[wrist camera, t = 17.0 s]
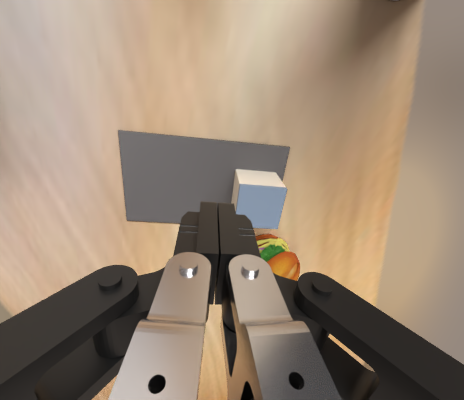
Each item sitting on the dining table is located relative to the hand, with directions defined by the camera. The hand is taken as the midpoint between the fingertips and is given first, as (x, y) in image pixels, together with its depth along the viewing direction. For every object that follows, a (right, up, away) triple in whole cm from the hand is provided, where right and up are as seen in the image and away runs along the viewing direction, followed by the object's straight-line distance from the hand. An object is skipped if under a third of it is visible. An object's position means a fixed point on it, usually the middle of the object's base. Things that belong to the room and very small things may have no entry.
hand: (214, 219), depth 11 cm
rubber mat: (-4, +4, +31) cm, 31 cm away
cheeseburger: (+8, -9, +39) cm, 40 cm away
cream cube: (+5, 0, +25) cm, 26 cm away
